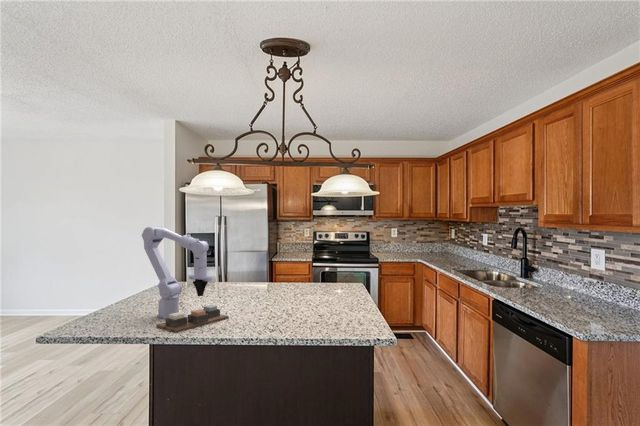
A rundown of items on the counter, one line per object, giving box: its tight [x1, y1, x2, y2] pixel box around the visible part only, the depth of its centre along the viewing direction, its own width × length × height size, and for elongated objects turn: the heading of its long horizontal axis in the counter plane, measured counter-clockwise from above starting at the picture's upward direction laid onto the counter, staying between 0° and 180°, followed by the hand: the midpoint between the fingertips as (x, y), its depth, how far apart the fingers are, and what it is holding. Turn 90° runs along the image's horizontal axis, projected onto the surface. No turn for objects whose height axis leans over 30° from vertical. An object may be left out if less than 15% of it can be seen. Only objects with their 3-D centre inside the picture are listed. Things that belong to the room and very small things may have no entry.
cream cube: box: [169, 312, 185, 320], centre depth 164 cm, size 4×4×4 cm
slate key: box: [203, 304, 218, 311], centre depth 179 cm, size 4×4×4 cm
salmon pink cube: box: [190, 308, 206, 317], centre depth 170 cm, size 4×4×4 cm
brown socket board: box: [155, 308, 230, 334], centre depth 172 cm, size 14×28×4 cm, turn 145°
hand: (200, 295), depth 179 cm, fingers closed
